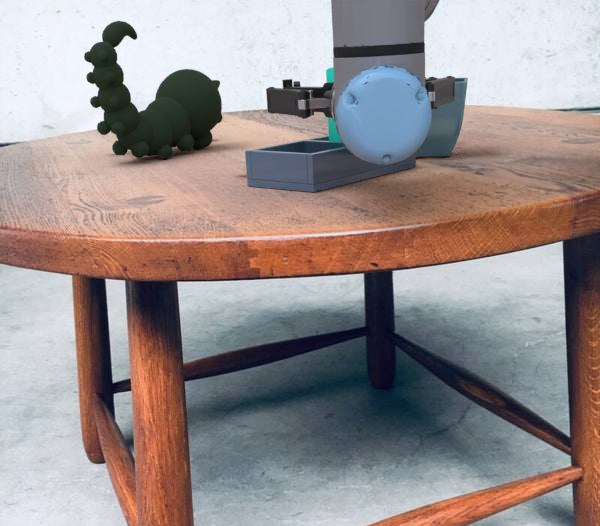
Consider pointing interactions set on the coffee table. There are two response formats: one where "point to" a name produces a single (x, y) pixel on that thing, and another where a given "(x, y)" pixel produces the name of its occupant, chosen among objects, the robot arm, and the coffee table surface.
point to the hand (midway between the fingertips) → (355, 90)
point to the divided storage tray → (312, 166)
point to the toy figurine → (152, 104)
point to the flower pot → (445, 124)
